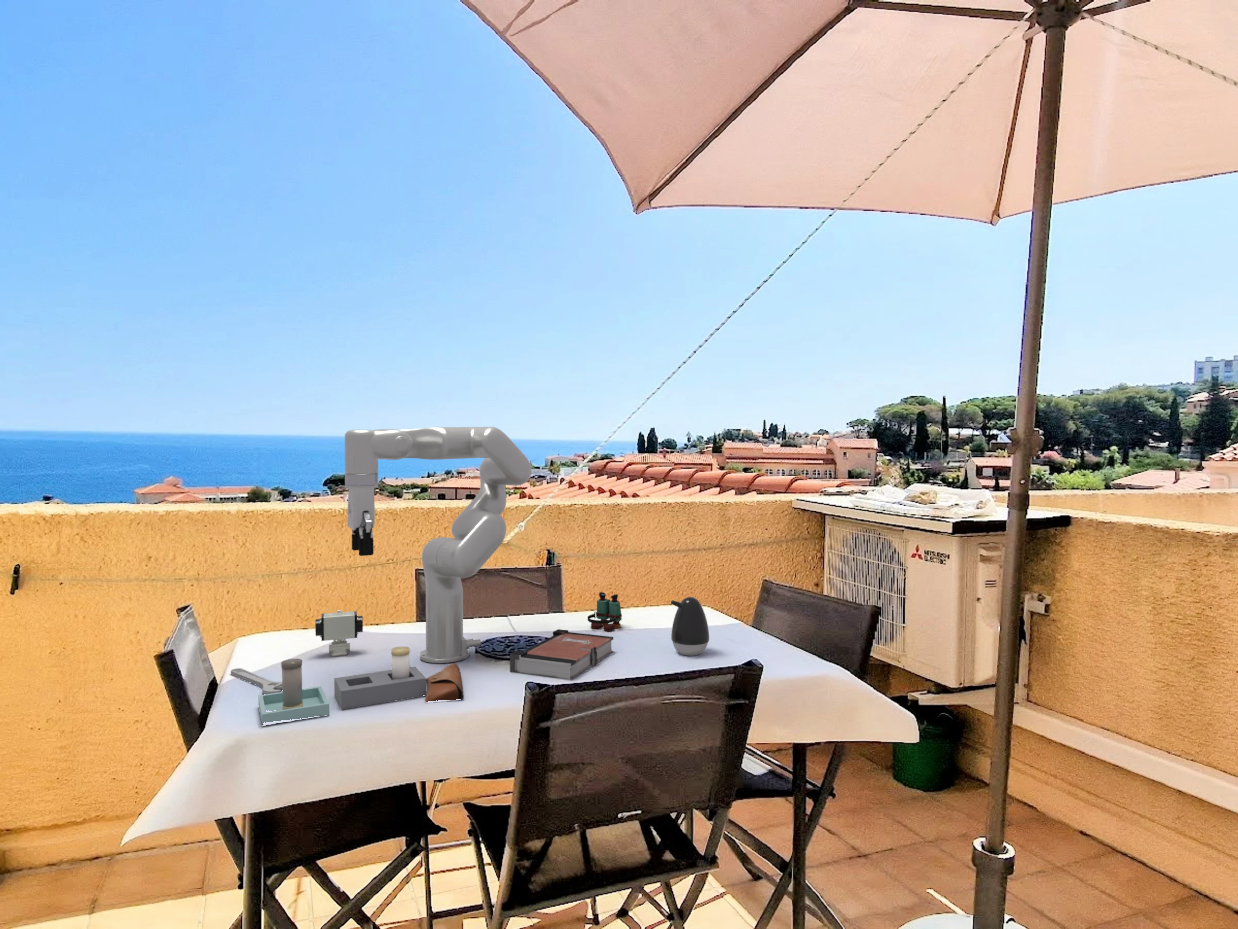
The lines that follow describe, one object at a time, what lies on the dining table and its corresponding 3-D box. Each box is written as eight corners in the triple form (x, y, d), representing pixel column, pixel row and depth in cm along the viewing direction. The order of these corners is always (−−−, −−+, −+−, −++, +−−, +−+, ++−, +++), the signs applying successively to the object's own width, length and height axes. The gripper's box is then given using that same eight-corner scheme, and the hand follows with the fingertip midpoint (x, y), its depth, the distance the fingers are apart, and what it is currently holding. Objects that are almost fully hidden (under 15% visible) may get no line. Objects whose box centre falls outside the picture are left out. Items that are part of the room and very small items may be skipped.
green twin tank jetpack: (582, 598, 224) (600, 590, 232) (584, 632, 225) (602, 622, 233) (607, 602, 219) (624, 593, 227) (609, 636, 220) (626, 626, 228)
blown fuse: (302, 703, 159) (300, 657, 159) (304, 709, 156) (303, 662, 155) (281, 707, 157) (280, 660, 157) (283, 713, 154) (282, 665, 153)
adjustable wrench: (228, 676, 182) (228, 669, 182) (255, 670, 186) (255, 663, 186) (268, 700, 164) (268, 692, 164) (297, 693, 169) (297, 685, 169)
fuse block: (415, 683, 175) (415, 666, 175) (426, 696, 166) (426, 678, 166) (334, 695, 166) (334, 678, 166) (341, 710, 157) (341, 691, 157)
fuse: (407, 688, 171) (407, 645, 171) (411, 694, 167) (411, 650, 167) (389, 691, 169) (389, 648, 169) (393, 696, 166) (393, 652, 165)
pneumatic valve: (363, 654, 198) (362, 610, 198) (315, 659, 194) (315, 613, 194) (362, 649, 203) (362, 606, 203) (316, 653, 199) (315, 609, 199)
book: (573, 682, 177) (573, 662, 177) (509, 674, 184) (509, 654, 183) (615, 653, 201) (615, 635, 201) (558, 647, 208) (558, 629, 208)
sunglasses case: (423, 678, 178) (437, 653, 179) (449, 690, 180) (463, 666, 181) (424, 704, 161) (440, 676, 162) (452, 717, 163) (468, 690, 163)
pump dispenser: (667, 648, 205) (667, 593, 204) (704, 647, 206) (705, 592, 205) (673, 659, 195) (673, 601, 194) (712, 658, 196) (713, 600, 195)
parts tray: (321, 697, 165) (321, 686, 165) (329, 715, 154) (329, 703, 154) (258, 707, 159) (258, 695, 159) (262, 726, 148) (261, 714, 148)
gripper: (339, 480, 183) (340, 549, 184) (351, 483, 168) (352, 558, 168) (371, 479, 187) (371, 547, 187) (385, 482, 172) (386, 556, 172)
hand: (362, 552), depth 178 cm, fingers open, 9 cm apart
